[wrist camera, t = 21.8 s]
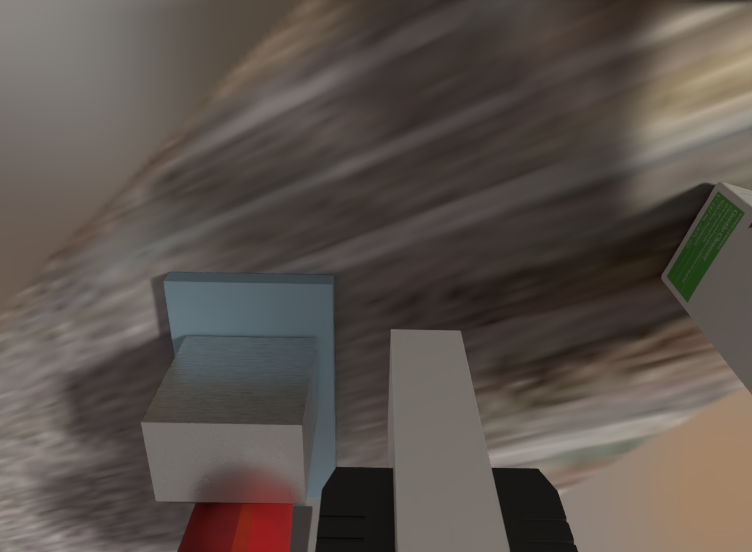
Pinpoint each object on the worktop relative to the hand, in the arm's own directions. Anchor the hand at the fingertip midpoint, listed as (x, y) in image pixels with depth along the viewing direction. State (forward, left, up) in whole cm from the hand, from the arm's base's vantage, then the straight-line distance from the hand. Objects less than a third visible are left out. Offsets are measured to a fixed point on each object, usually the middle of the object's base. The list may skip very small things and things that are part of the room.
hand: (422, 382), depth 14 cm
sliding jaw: (+10, +20, -28) cm, 35 cm away
